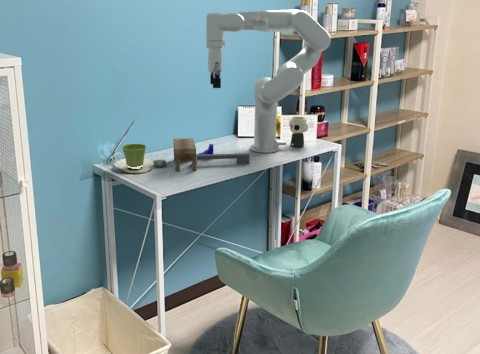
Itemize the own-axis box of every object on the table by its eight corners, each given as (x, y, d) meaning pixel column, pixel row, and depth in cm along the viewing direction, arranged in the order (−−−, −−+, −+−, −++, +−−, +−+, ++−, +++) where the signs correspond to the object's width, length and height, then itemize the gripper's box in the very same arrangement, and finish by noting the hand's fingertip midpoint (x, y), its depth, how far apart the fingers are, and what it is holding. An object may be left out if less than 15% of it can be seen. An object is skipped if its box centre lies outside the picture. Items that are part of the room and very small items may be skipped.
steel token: (154, 167, 214) (153, 162, 214) (152, 164, 219) (152, 160, 219) (166, 166, 216) (166, 161, 215) (165, 163, 220) (164, 159, 220)
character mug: (283, 144, 250) (284, 116, 246) (293, 142, 255) (294, 114, 251) (301, 149, 243) (302, 121, 238) (311, 147, 247) (313, 118, 243)
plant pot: (121, 165, 217) (119, 144, 214) (144, 163, 220) (143, 142, 217) (125, 172, 209) (123, 151, 206) (149, 170, 212) (148, 148, 209)
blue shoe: (212, 156, 232) (212, 142, 230) (213, 159, 227) (213, 145, 225) (184, 156, 230) (184, 143, 228) (184, 160, 226) (184, 146, 224)
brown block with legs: (193, 159, 226) (193, 138, 223) (196, 170, 212) (196, 148, 209) (173, 159, 225) (173, 138, 222) (175, 171, 211) (175, 149, 208)
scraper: (247, 161, 225) (248, 152, 224) (249, 165, 220) (250, 155, 219) (194, 163, 222) (194, 153, 220) (195, 166, 217) (195, 157, 216)
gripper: (204, 42, 232) (204, 82, 237) (208, 46, 216) (208, 89, 221) (221, 42, 233) (221, 82, 239) (227, 46, 217) (227, 89, 222)
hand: (215, 86), depth 230 cm, fingers open, 9 cm apart
